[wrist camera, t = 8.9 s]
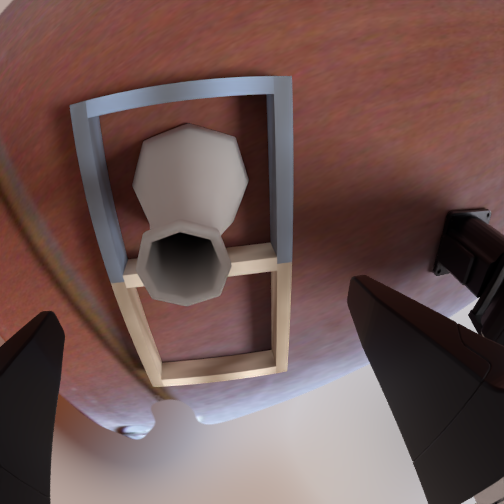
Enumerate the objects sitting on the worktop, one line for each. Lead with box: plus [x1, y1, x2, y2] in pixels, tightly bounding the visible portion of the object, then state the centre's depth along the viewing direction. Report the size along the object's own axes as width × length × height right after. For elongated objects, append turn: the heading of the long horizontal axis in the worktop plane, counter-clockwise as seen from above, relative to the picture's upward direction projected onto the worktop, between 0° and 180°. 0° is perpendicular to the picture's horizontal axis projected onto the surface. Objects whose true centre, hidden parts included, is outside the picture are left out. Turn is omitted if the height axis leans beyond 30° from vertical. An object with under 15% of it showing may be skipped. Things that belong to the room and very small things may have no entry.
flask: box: [132, 123, 249, 306], centre depth 14 cm, size 7×7×10 cm
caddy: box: [70, 76, 293, 387], centre depth 20 cm, size 12×23×2 cm, turn 2°
